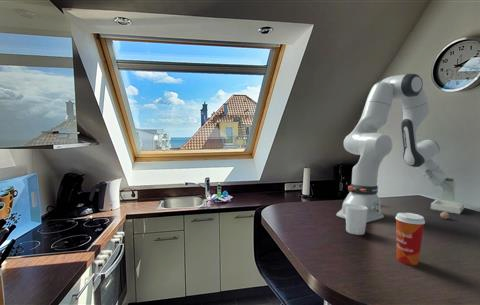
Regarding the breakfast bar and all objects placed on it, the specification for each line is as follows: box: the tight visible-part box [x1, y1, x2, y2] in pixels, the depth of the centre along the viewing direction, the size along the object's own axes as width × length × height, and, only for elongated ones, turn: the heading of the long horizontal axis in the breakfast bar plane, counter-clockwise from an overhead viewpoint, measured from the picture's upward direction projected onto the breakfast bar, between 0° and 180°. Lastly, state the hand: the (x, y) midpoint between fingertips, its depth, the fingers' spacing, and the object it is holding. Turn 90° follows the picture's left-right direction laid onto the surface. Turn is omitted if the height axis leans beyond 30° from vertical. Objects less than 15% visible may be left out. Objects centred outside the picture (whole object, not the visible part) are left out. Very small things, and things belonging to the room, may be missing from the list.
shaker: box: [441, 177, 457, 202], centre depth 142 cm, size 4×4×11 cm
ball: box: [440, 211, 450, 220], centre depth 126 cm, size 3×3×3 cm
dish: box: [430, 198, 465, 215], centre depth 143 cm, size 14×12×3 cm
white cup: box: [345, 204, 368, 236], centre depth 106 cm, size 8×8×10 cm
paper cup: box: [395, 212, 426, 266], centre depth 82 cm, size 8×8×14 cm
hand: (450, 189), depth 142 cm, fingers closed on shaker, 4 cm apart
